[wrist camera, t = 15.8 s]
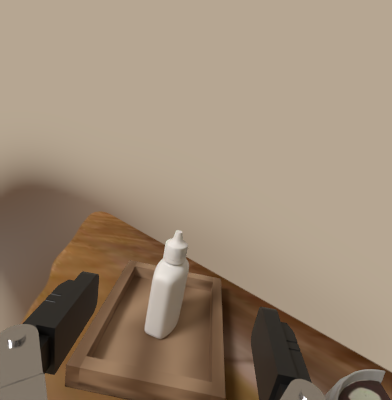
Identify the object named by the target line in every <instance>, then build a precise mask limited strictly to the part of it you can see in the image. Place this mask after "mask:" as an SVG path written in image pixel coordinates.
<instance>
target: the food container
mask: <svg viewBox="0 0 392 400" xmlns="http://www.w3.org/2000/svg"><path fill="white" fill-rule="evenodd" d="M384 374H385V371H382V370H375V369H371V370H360V371H356V372H354V373H352V374H350V375H348V376H346V377H344V378H342V379H340V380H339V381H338V382H337V383H336V384H335V385H334V386H333V387H332V388H331V390H330V391H329V392H328V393H327V394H326V395H325V398H326V400H390V398H389V396H388V395H387V393H386V392H385V390H384V388H383V387H382V385H381V381H382V379H383V376H384Z"/></svg>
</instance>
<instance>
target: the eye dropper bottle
mask: <svg viewBox="0 0 392 400" xmlns="http://www.w3.org/2000/svg"><path fill="white" fill-rule="evenodd" d="M187 248H188V244H187V243H186V242H185V241H184V240H183V239H182V231H180V230H177V231H176V233H175V235H174V237H173V238H172V239H168V240H167V241H166V245H165V250H164V256H163V259H162V260H161V261H160V262H159V263H158V265H157V267H156V269H155V271H154V275H153V280H152V285H151V291H150V297H149V303H148V309H147V316H146V322H145V333H147V334H148V335H151V336H153V337H155V338H158V339H162V338H164V337H166V336H167V335H168V334H170V333H171V332H172V331H173V329H174V328H175V326H176V325H177V322H178V319H179V315H180V310H181V305H182V301H183V296H184V291H185V286H186V281H187V276H188V271H189V263H188V261H187V259H185V258H186V253H187Z"/></svg>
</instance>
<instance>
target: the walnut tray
mask: <svg viewBox="0 0 392 400" xmlns="http://www.w3.org/2000/svg"><path fill="white" fill-rule="evenodd" d="M156 267H157V266H155V265H150V264H146V263H141V262H136V261H131V260H130V261H129V262H128V264H127V265H126V267H125V269H124V270H123V272H122V274H121V275H120V277H119V279H118V280H117V282H116V284H115V285H114V287H113V289H112V290H111V292H110V293H109V295H108V297H107V298H106V300H105V302H104V303H103V305H102V307H101V308H100V310H99V312H98V313H97V315H96V317H95V318H94V320H93V321H92V323H91V325H90V326H89V328H88V330H87V331H86V333H85V335H84V336H83V338H82V340H81V341H80V343H79V345H78V346H77V348H76V350H75V351H74V353H73V354H72V356H71V358H70V359H69V361H68V363H67V364H66V376H65V386H67V387H71V388H76V389H81V390H86V391H90V392H95V393H100V394H105V395H110V396H114V397H119V398H124V399H129V400H225V373H224V347H223V321H222V295H221V279H219V278H214V277H209V276H204V275H199V274H194V273H190V272H188V276H187V281H186V286H185V291H184V296H183V301H182V305H181V310H180V315H179V319H178V322H177V325H176V326H175V328H174V329H173V331H172V332H171V333H170V334H168V335H167V336H166V337H164V338H162V339H158V338H155V337H153V336H151V335H148V334H147V333H145V322H146V316H147V309H148V303H149V297H150V291H151V285H152V280H153V275H154V271H155V269H156Z"/></svg>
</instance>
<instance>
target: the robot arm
mask: <svg viewBox="0 0 392 400" xmlns="http://www.w3.org/2000/svg"><path fill="white" fill-rule="evenodd" d="M98 285H99V275H98V274H94V273H89V272H84V271H83V272H81V273H80V275H79V276H78V277H77V278H76V279H75V280H74V281H73V280H67V281H66V282H64V283H62V284H60V285H58V286H57V288H56V289H55V290H54V291H53V292H52V293H51V294H50V295H49V296H48V297H47V298H46V300H45V301H43V302H42V304H41V305H40V306H39V307H38V308H37V309H36V310H35V311H34V312H33V313H32V314H31V315H30V316H29V317H28V318H27V320H26V321H25V322H24V323H23V324H19V325H15V326H12V327H9V328H7V329H5V330H4V331H2V332H1V333H0V400H47V392H46V384H45V376H44V374H45V373H48V374H53V375H55V373H56V372H57V370H58V368H59V367H60V365H61V364H62V362H63V360H64V359H65V357H66V356H67V354H68V353H69V351H70V349H71V348H72V346H73V345H74V343H75V341H76V340H77V338H78V337H79V335H80V333H81V332H82V330H83V329H84V327H85V325H86V324H87V322H88V321H89V319H90V318H91V316H92V314H93V313H94V310H95V308H96V305H97V299H98ZM251 347H252V354H253V360H254V367H255V374H256V381H257V387H258V394H259V400H326V398H325V396H324V394H323V393H322V392H321V391H320V390H319V389H318V388H317V387H316V386H315V385H314V384H312V382H311V379H310V377H309V374H308V371H307V368H306V365H305V362H304V360H303V357H302V354H301V352H300V348H299V345H298V344H297V340H296V337H295V334H294V332H293V331H292V329H291V328H290V327H289V326H288V324H287V323H283V322H280V319H279V315H278V312H277V310H275V309H270V308H265V307H260V308H259V311H258V314H257V317H256V321H255V324H254V327H253V331H252V336H251Z"/></svg>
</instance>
